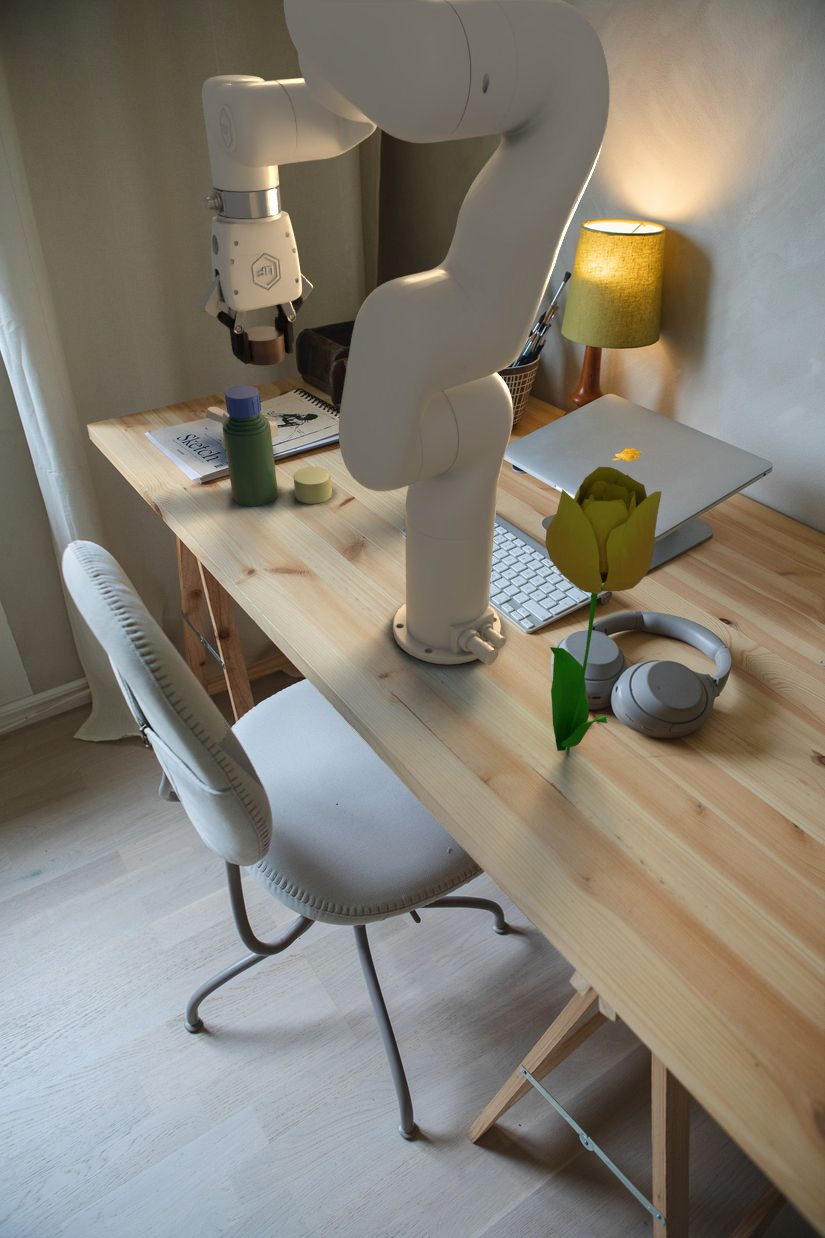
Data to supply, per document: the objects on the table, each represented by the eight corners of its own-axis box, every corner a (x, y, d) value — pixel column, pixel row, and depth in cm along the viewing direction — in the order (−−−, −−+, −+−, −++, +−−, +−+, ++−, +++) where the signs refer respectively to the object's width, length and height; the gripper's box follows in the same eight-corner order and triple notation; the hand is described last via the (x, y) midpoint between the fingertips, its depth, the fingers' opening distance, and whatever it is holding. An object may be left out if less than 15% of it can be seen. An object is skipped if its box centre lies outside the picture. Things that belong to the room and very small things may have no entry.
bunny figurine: (231, 443, 127) (197, 398, 136) (234, 471, 130) (201, 426, 139) (288, 429, 130) (251, 387, 139) (289, 457, 134) (253, 414, 143)
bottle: (286, 497, 122) (275, 398, 112) (245, 511, 118) (231, 410, 109) (264, 480, 126) (252, 382, 116) (225, 492, 123) (209, 394, 113)
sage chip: (338, 496, 122) (337, 477, 120) (307, 507, 119) (305, 488, 117) (319, 482, 125) (318, 463, 123) (288, 492, 123) (286, 473, 121)
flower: (627, 752, 82) (690, 484, 63) (576, 796, 77) (628, 522, 59) (558, 708, 87) (598, 447, 68) (507, 747, 82) (535, 479, 64)
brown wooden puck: (293, 359, 107) (291, 335, 105) (255, 368, 104) (253, 344, 102) (273, 347, 110) (271, 323, 108) (236, 355, 108) (233, 331, 106)
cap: (267, 412, 114) (264, 393, 112) (236, 421, 111) (234, 401, 110) (251, 401, 117) (249, 382, 115) (221, 409, 114) (218, 390, 113)
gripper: (192, 219, 90) (216, 379, 101) (328, 199, 97) (335, 350, 109) (165, 206, 94) (191, 360, 106) (296, 188, 102) (307, 333, 114)
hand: (264, 354), depth 107 cm, fingers closed on brown wooden puck, 5 cm apart
